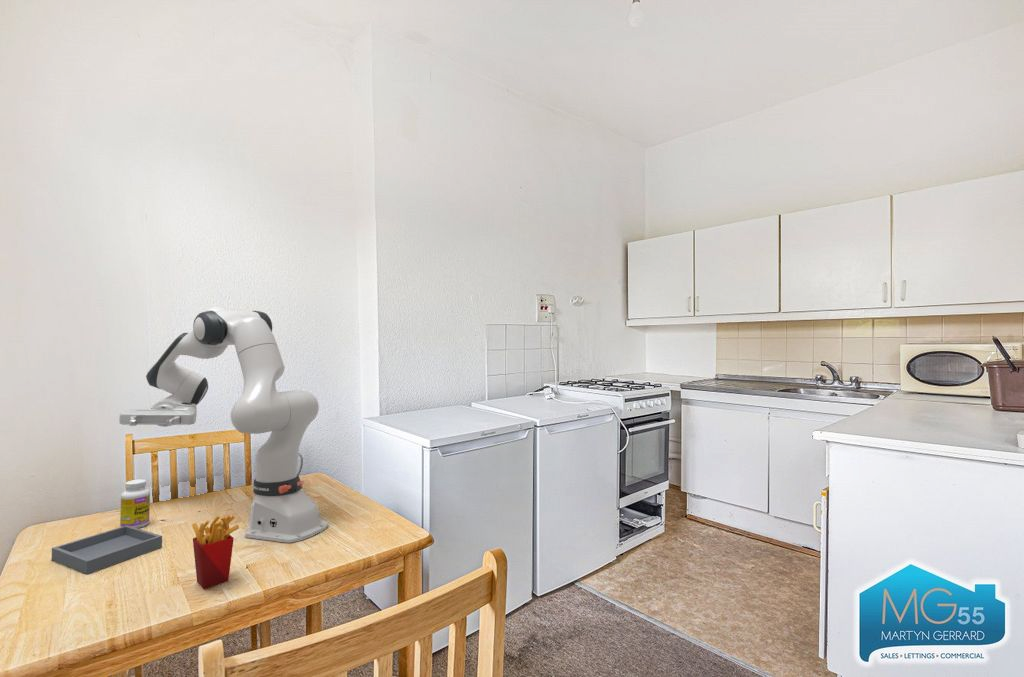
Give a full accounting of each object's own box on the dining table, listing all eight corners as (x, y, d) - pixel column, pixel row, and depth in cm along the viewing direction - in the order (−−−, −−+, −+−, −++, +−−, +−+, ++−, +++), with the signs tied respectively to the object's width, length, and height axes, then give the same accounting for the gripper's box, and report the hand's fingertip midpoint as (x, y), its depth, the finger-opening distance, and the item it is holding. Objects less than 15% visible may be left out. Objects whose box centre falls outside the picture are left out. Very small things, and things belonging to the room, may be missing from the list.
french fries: (190, 581, 107) (191, 515, 107) (231, 569, 113) (232, 505, 113) (203, 596, 101) (204, 525, 101) (245, 582, 108) (246, 515, 108)
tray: (162, 547, 125) (162, 535, 125) (86, 574, 110) (86, 561, 110) (127, 536, 131) (127, 525, 131) (51, 560, 117) (51, 547, 117)
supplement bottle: (133, 531, 134) (133, 485, 134) (114, 529, 136) (114, 484, 136) (155, 522, 141) (155, 479, 141) (136, 520, 142) (137, 477, 142)
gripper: (130, 403, 158) (109, 413, 145) (201, 403, 164) (188, 413, 151) (129, 421, 158) (109, 433, 145) (200, 421, 165) (187, 433, 152)
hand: (150, 423), depth 148 cm, fingers open, 8 cm apart
